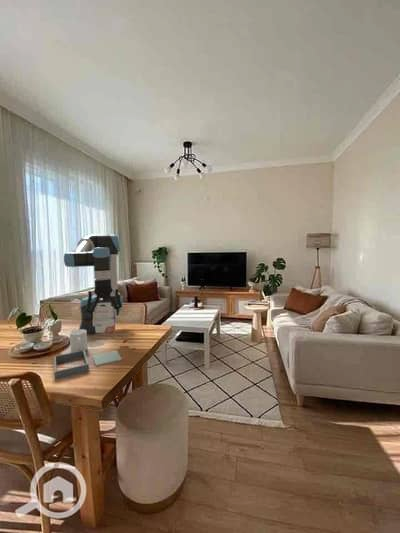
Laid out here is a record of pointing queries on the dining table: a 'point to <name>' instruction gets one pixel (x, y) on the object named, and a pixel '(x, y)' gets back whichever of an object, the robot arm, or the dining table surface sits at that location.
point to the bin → (72, 370)
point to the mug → (78, 340)
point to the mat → (106, 358)
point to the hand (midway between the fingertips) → (105, 323)
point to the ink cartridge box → (104, 318)
